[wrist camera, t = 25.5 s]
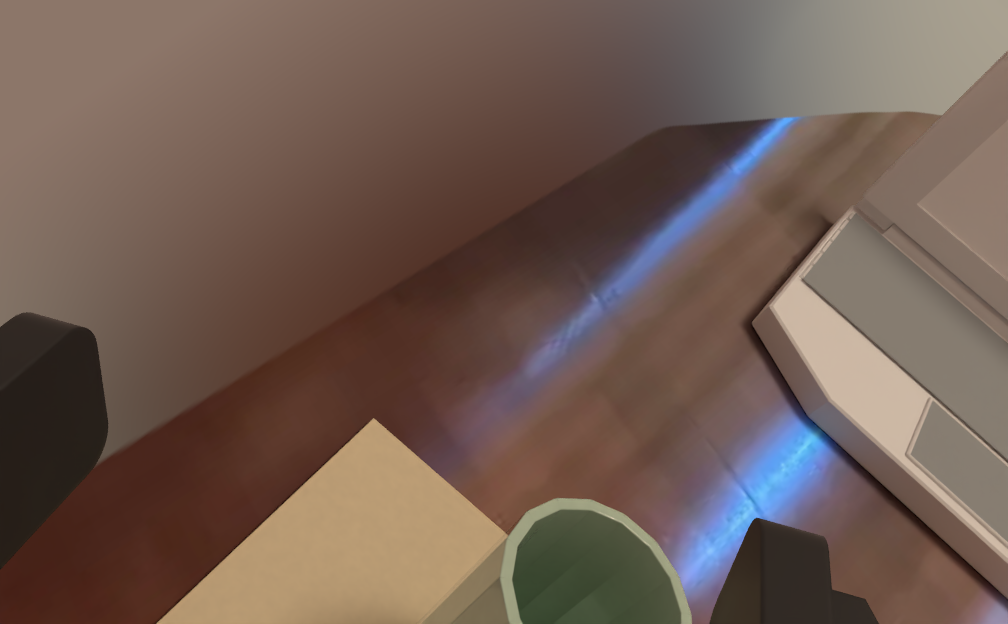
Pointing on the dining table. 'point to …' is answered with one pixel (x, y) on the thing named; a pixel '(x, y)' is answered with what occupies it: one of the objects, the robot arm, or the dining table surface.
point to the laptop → (917, 328)
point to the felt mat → (349, 546)
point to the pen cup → (568, 573)
